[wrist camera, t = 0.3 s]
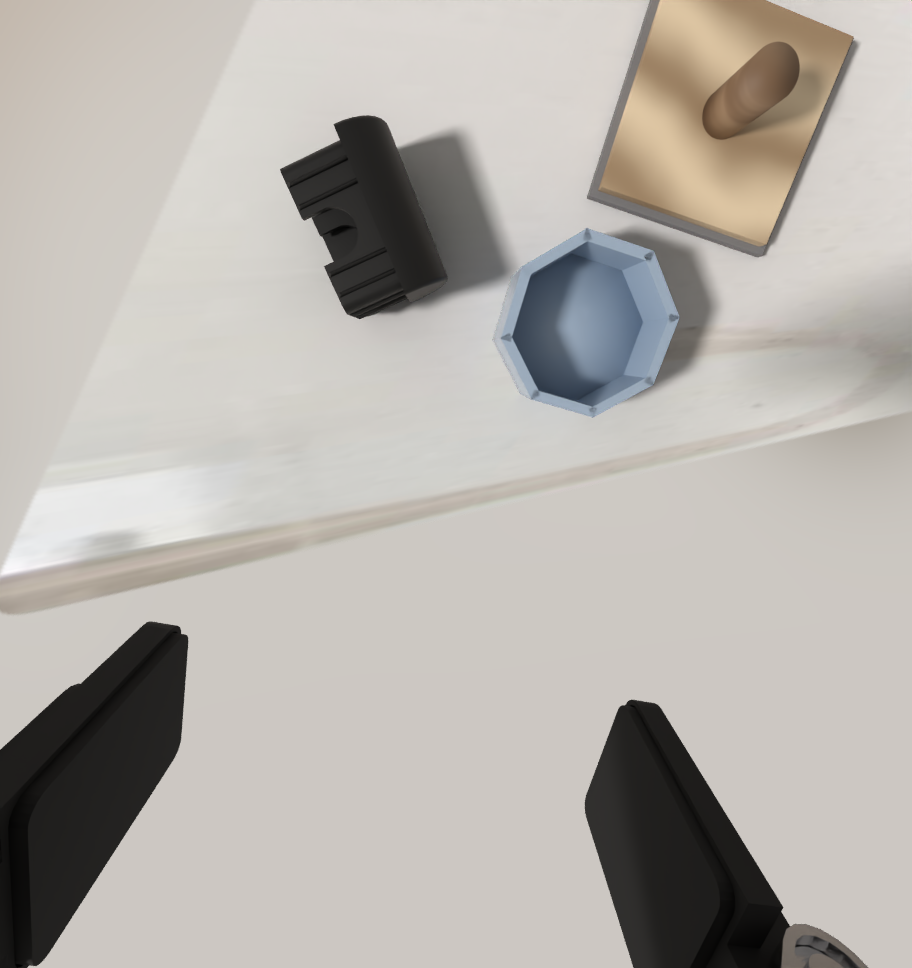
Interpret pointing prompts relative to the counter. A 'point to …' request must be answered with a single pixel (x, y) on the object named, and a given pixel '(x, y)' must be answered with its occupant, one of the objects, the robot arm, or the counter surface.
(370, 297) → the end cap
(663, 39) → the lid
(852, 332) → the counter surface
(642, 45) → the mat
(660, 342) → the bowl
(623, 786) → the robot arm
